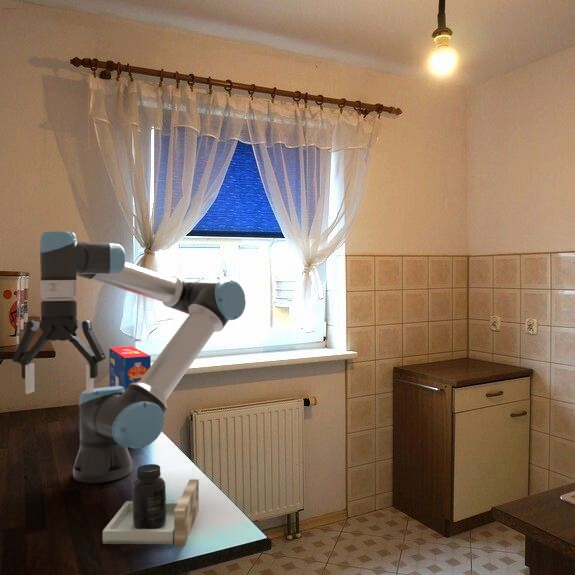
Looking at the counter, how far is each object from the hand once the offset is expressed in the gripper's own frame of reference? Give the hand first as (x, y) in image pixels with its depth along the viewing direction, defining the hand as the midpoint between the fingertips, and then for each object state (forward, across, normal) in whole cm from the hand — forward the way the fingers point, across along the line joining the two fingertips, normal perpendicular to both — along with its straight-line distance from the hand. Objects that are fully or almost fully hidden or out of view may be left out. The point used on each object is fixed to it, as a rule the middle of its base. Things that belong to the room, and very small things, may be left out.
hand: (60, 392), depth 119 cm
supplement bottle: (+26, +22, -9) cm, 36 cm away
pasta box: (+27, -2, +60) cm, 65 cm away
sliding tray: (+27, +22, -10) cm, 36 cm away
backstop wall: (+27, +30, -9) cm, 42 cm away
